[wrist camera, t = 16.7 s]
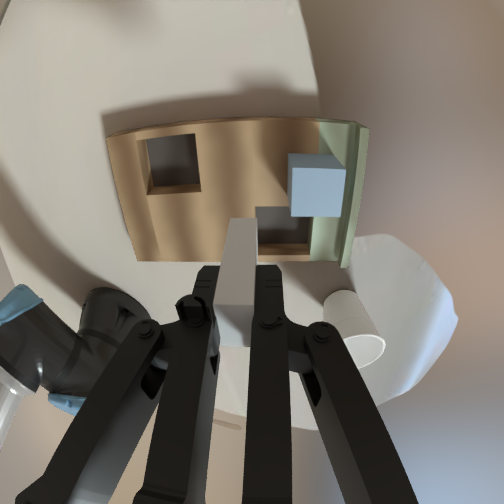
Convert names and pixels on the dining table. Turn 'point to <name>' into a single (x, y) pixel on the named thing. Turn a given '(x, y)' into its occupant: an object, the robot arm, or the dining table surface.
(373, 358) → the cup
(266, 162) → the board
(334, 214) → the block
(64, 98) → the dining table surface
